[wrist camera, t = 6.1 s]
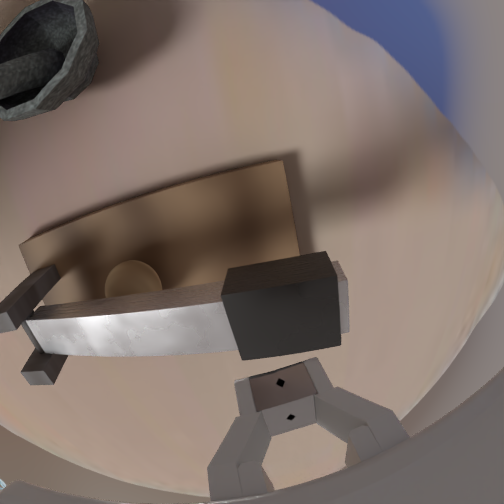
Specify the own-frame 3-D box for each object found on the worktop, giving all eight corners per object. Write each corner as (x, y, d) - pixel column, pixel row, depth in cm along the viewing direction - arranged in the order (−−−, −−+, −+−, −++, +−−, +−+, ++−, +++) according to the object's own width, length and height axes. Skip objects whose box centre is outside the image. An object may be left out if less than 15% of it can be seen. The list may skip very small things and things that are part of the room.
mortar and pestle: (90, 7, 13) (32, -54, 2) (137, 64, 17) (80, -3, 6) (6, 93, 14) (-78, 85, 3) (43, 156, 18) (-53, 174, 7)
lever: (62, 340, 18) (46, 360, 15) (39, 298, 16) (19, 317, 14) (340, 313, 15) (351, 343, 13) (335, 249, 14) (348, 273, 11)
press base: (78, 340, 24) (46, 408, 15) (29, 238, 20) (-34, 284, 11) (299, 288, 26) (343, 357, 17) (276, 159, 21) (326, 168, 12)
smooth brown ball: (126, 305, 22) (113, 336, 18) (106, 259, 20) (86, 284, 16) (173, 294, 22) (167, 325, 18) (155, 245, 20) (143, 268, 16)
